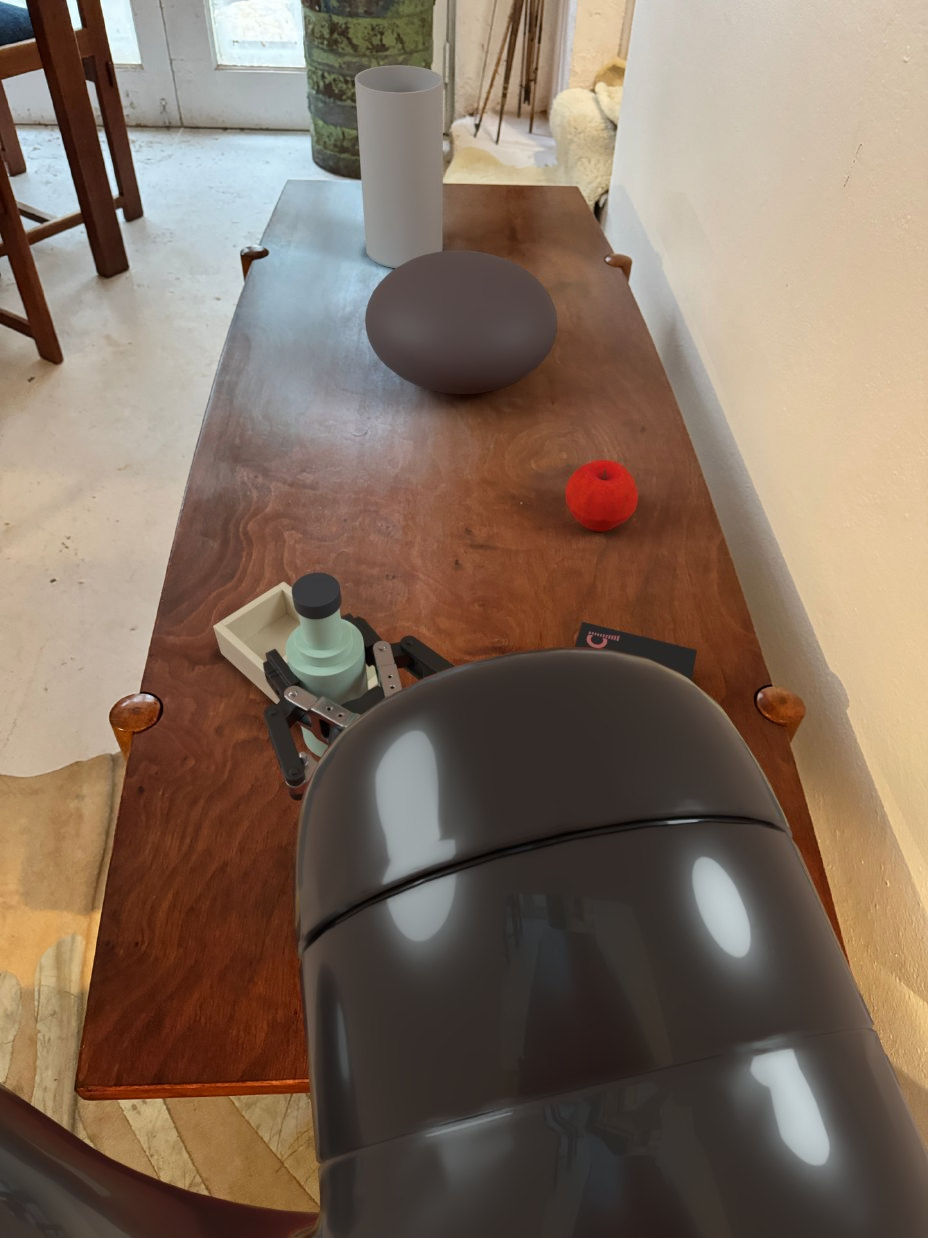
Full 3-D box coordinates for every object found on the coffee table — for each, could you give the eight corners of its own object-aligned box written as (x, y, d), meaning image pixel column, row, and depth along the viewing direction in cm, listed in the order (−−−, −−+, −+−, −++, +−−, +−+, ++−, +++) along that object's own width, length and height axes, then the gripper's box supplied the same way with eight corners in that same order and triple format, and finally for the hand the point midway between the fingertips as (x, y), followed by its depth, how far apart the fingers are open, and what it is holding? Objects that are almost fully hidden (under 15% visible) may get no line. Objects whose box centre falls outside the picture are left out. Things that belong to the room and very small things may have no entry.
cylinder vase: (396, 278, 133) (390, 99, 114) (351, 249, 139) (337, 75, 120) (458, 256, 138) (460, 81, 119) (411, 229, 144) (407, 60, 126)
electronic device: (674, 744, 75) (686, 712, 72) (558, 713, 77) (564, 680, 74) (685, 681, 80) (697, 648, 76) (576, 654, 82) (582, 619, 78)
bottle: (333, 772, 61) (309, 633, 50) (289, 730, 64) (256, 588, 52) (386, 730, 64) (374, 589, 53) (342, 692, 66) (321, 548, 55)
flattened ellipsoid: (411, 312, 126) (408, 209, 115) (572, 346, 120) (586, 241, 109) (337, 399, 110) (326, 290, 99) (519, 443, 105) (529, 332, 94)
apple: (574, 490, 99) (582, 438, 93) (639, 509, 97) (652, 456, 91) (552, 532, 94) (559, 480, 88) (621, 553, 92) (632, 500, 86)
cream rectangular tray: (327, 751, 74) (322, 725, 71) (220, 653, 81) (212, 625, 78) (396, 696, 78) (394, 670, 75) (289, 608, 85) (283, 580, 82)
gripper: (545, 723, 50) (392, 561, 60) (336, 852, 45) (201, 650, 54) (535, 788, 56) (396, 631, 65) (347, 910, 50) (224, 719, 59)
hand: (309, 640), depth 59 cm, fingers closed on bottle, 5 cm apart
